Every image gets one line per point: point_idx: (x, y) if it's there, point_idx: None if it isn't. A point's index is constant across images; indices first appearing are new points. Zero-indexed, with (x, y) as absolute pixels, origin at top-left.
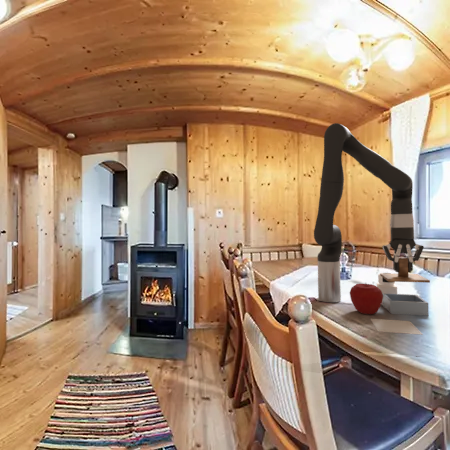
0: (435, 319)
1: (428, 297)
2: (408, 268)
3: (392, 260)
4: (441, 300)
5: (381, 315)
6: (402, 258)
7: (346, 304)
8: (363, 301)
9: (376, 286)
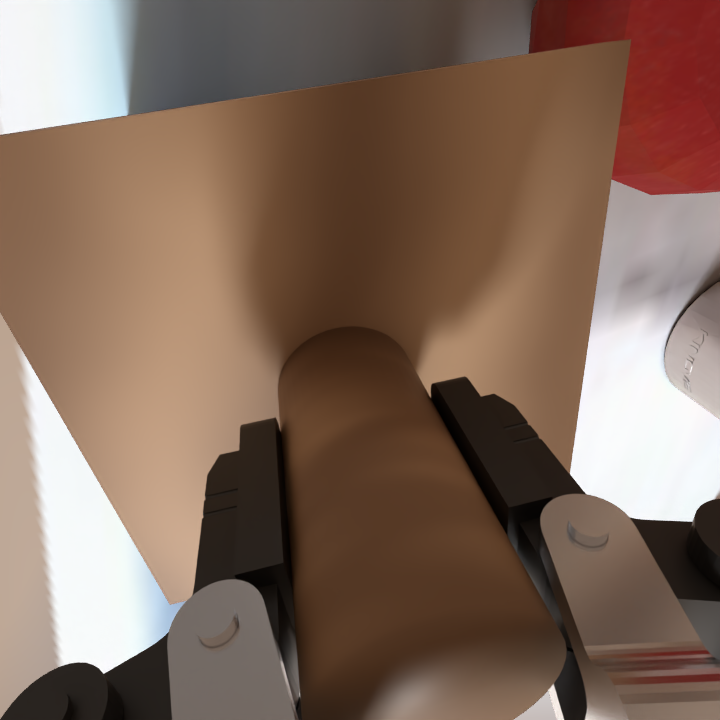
0: (70, 67)
1: (148, 608)
2: (282, 472)
3: (662, 532)
4: (73, 582)
5: (483, 33)
6: (476, 610)
7: (655, 268)
8: None
9: (698, 31)
